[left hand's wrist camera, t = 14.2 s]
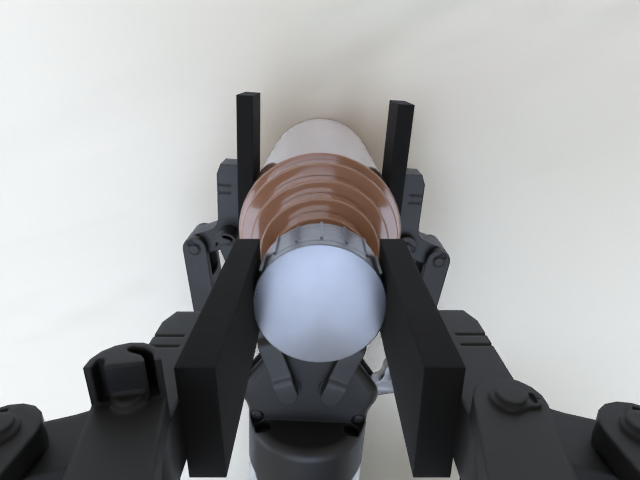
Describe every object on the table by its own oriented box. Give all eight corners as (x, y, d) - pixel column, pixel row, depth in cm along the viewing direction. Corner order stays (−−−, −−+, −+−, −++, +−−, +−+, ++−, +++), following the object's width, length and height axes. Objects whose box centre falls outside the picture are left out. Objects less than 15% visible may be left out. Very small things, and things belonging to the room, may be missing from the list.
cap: (399, 241, 14) (410, 265, 12) (357, 344, 15) (362, 378, 14) (277, 205, 14) (271, 225, 12) (245, 314, 15) (236, 345, 13)
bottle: (384, 136, 29) (470, 230, 12) (351, 229, 31) (386, 412, 15) (285, 104, 28) (235, 158, 12) (258, 201, 31) (186, 361, 14)
